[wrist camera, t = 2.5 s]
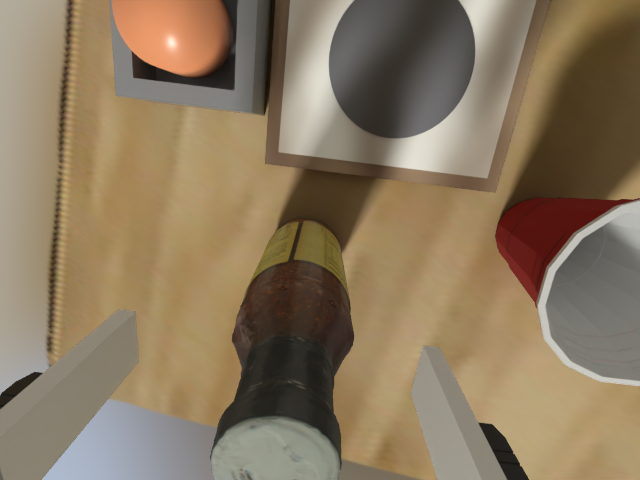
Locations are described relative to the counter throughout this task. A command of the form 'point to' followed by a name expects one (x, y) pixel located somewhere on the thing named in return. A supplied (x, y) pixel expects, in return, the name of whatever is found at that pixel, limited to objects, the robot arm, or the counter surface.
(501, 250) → the plastic cup
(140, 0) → the button
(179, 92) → the button housing
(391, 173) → the board
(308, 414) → the sauce bottle
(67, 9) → the counter surface
